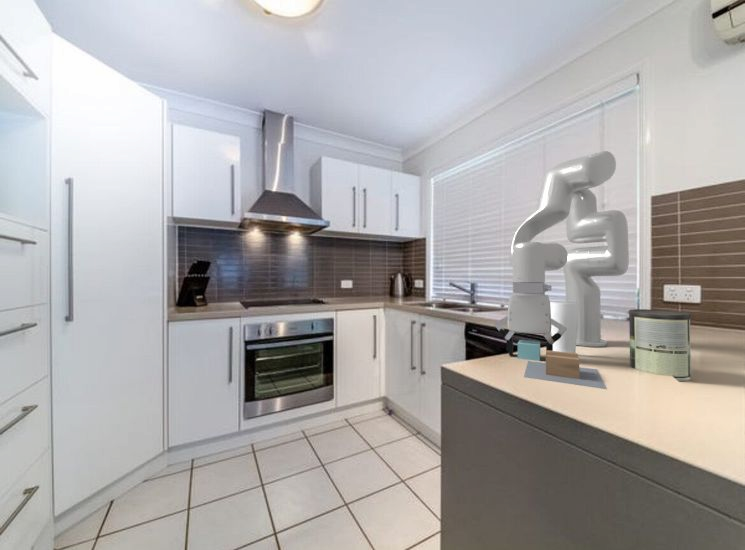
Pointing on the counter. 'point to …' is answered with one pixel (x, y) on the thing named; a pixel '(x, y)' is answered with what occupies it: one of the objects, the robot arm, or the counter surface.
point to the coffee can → (660, 342)
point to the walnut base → (562, 364)
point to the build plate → (585, 374)
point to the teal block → (529, 350)
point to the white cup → (569, 318)
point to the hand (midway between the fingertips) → (529, 356)
